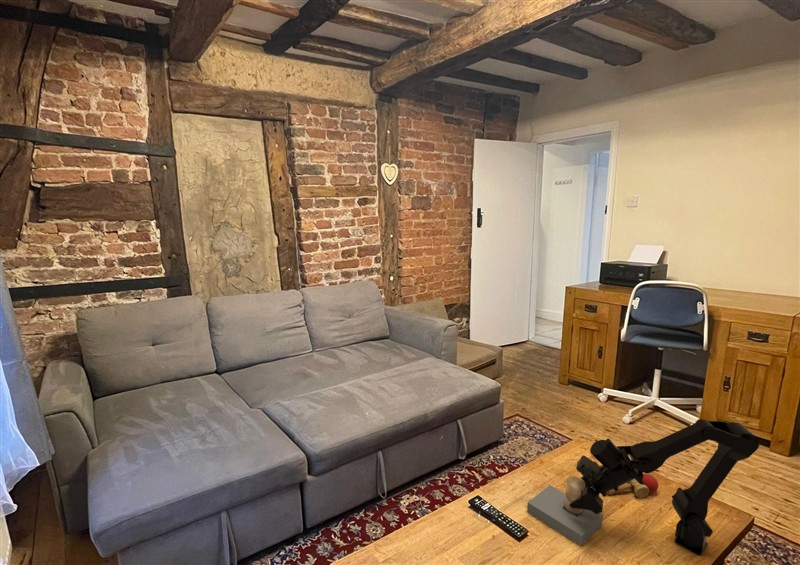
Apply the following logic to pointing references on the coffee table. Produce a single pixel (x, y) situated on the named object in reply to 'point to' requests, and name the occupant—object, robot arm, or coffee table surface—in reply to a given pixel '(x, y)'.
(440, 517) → the coffee table surface
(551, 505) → the board
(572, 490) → the peg
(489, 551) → the coffee table surface
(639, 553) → the coffee table surface
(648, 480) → the kendama
